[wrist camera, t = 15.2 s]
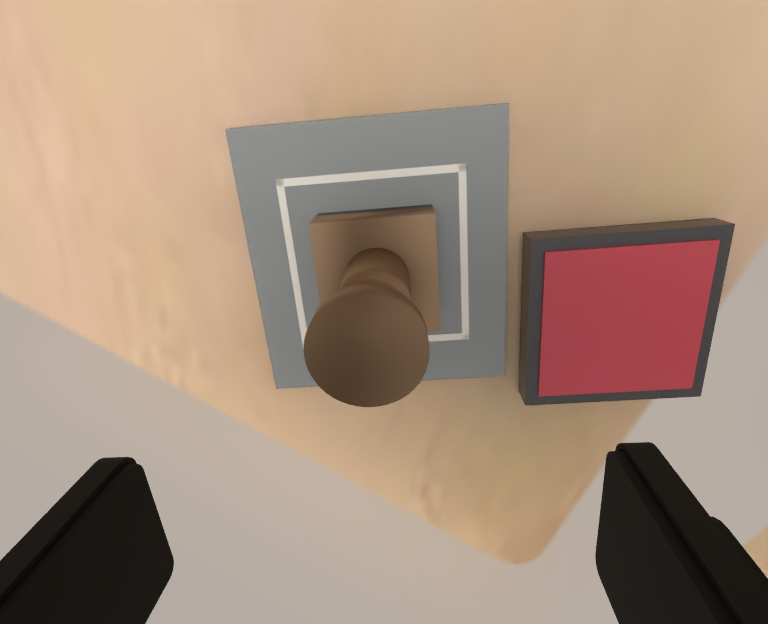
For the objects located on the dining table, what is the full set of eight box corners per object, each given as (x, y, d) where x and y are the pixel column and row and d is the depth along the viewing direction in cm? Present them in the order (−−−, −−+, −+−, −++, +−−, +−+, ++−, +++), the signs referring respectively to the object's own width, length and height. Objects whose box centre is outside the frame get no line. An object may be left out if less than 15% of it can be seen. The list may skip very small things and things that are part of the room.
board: (506, 103, 23) (509, 102, 22) (502, 370, 28) (505, 376, 28) (229, 129, 24) (224, 129, 23) (278, 383, 29) (276, 389, 28)
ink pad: (714, 218, 24) (737, 224, 23) (684, 382, 28) (702, 398, 26) (523, 232, 25) (532, 239, 23) (518, 391, 29) (526, 407, 27)
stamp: (431, 204, 24) (454, 259, 14) (436, 310, 26) (459, 424, 16) (318, 213, 24) (261, 273, 14) (332, 317, 27) (291, 432, 17)
